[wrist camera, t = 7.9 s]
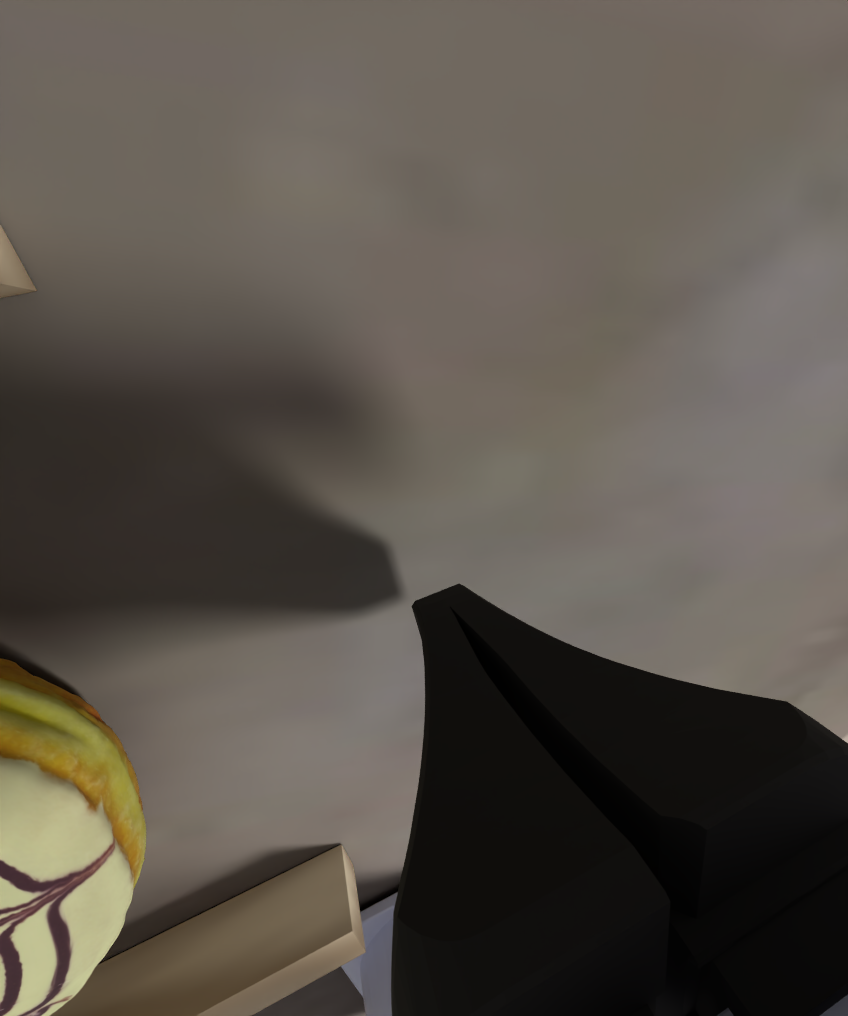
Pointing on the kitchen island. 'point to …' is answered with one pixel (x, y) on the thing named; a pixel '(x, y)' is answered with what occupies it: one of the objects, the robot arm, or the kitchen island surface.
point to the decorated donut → (60, 842)
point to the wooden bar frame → (226, 918)
